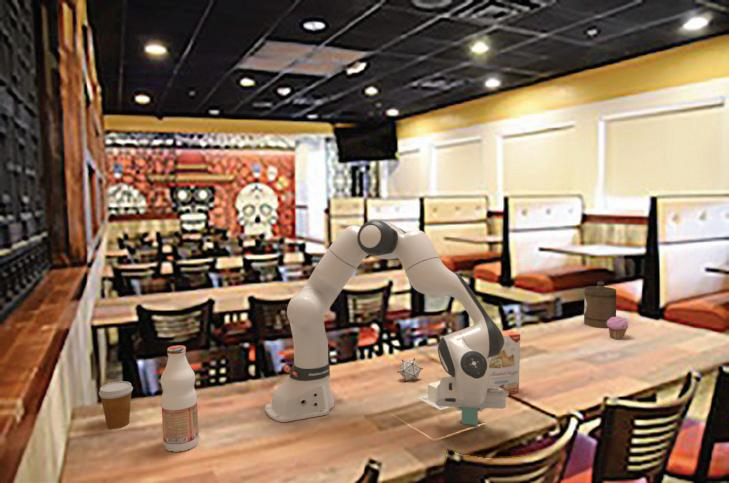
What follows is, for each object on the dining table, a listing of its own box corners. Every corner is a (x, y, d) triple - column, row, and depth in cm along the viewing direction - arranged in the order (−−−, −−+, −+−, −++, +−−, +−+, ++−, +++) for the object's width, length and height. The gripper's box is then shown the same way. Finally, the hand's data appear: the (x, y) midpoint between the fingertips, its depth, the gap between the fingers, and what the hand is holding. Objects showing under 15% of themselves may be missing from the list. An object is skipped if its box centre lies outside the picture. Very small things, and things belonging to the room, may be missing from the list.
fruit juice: (174, 456, 146) (168, 355, 143) (157, 445, 153) (152, 348, 150) (205, 444, 153) (200, 347, 150) (188, 434, 160) (183, 340, 157)
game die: (414, 392, 199) (421, 376, 192) (392, 382, 200) (398, 366, 194) (420, 373, 206) (427, 357, 199) (399, 364, 207) (405, 348, 200)
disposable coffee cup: (125, 415, 174) (123, 378, 173) (140, 422, 168) (138, 385, 167) (95, 425, 167) (92, 387, 165) (110, 434, 160) (107, 394, 159)
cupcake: (602, 336, 253) (602, 315, 252) (617, 334, 256) (618, 313, 255) (616, 341, 245) (617, 319, 244) (632, 339, 247) (632, 318, 246)
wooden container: (592, 319, 286) (593, 277, 284) (621, 324, 275) (622, 281, 272) (578, 324, 276) (579, 281, 274) (607, 329, 265) (608, 285, 263)
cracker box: (483, 397, 183) (483, 337, 181) (474, 391, 189) (475, 332, 187) (520, 393, 187) (520, 333, 184) (510, 386, 192) (511, 329, 190)
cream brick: (441, 405, 175) (441, 390, 175) (427, 398, 181) (427, 384, 180) (458, 400, 179) (458, 386, 178) (444, 394, 185) (444, 379, 184)
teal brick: (477, 427, 161) (477, 401, 160) (462, 426, 162) (462, 400, 161) (476, 420, 165) (476, 395, 165) (461, 419, 166) (461, 394, 165)
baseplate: (440, 412, 172) (440, 409, 172) (417, 400, 182) (417, 397, 182) (468, 403, 178) (468, 400, 178) (444, 392, 188) (444, 389, 188)
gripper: (508, 379, 154) (504, 399, 164) (435, 377, 156) (435, 397, 167) (510, 401, 150) (505, 420, 160) (435, 398, 152) (435, 417, 163)
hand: (469, 408), depth 164 cm, fingers closed on teal brick, 4 cm apart
